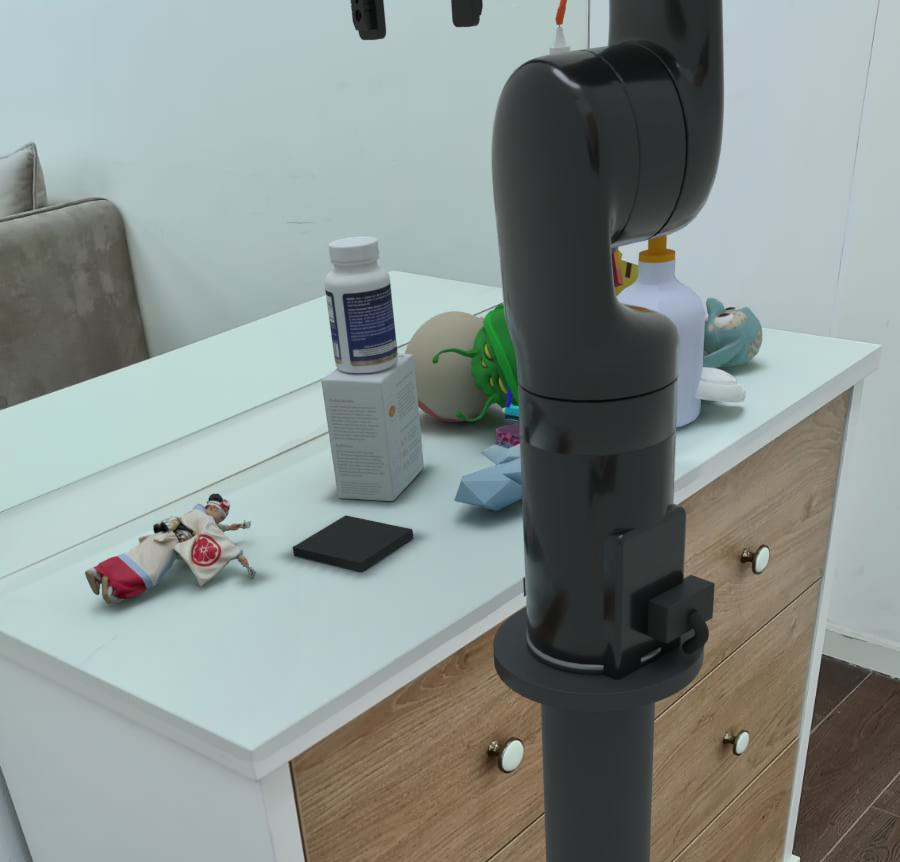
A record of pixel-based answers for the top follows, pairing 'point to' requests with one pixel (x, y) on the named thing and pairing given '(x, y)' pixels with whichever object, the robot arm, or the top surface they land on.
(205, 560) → the figurine
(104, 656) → the top surface
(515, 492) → the polygonal blue rock
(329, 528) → the pad
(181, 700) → the top surface
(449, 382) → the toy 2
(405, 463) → the small box
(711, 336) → the stuffed animal
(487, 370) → the figurine
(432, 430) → the top surface
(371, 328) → the pill bottle
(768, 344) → the top surface
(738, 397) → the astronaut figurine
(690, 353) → the soap bottle
